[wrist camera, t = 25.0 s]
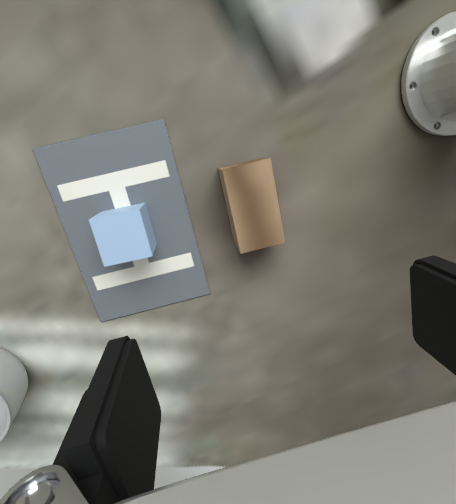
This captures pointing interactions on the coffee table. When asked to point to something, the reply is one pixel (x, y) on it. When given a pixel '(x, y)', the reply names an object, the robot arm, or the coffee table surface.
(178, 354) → the coffee table surface
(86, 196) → the letter card
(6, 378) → the teacup
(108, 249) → the blue cube
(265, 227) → the walnut block
